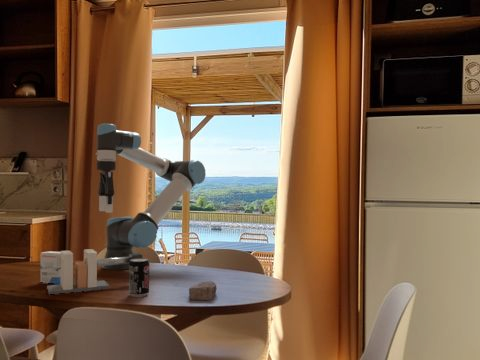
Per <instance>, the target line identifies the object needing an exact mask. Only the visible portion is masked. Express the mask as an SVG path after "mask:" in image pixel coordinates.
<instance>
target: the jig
mask: <svg viewBox="0 0 480 360" xmlns="http://www.w3.org/2000/svg"><path fill="white" fill-rule="evenodd" d="M60 252H61V279H60V284H50V285H46V291H47V290H48V291H47V294H48V296H51V295H50V294H55V295H60V294H59V293H65V294H71V293H70V292H74V293H83V292H82V291H84V292H92V290H93V291H100V290H101V289H103V290H110V284H109V283H108V282H106V281H105V280H104V279H103V280H98V279H97V278H98V277H97V276H98V266H97V259H98V252H97V251H96V250H95V249H93V248H91V249H83V261H84V262H85V263H86V264H87V287H83V288H77V286H76V285H75V282H74V253H73V252H72V251H71V250H60Z"/></svg>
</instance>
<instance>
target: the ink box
mask: <svg viewBox="0 0 480 360" xmlns="http://www.w3.org/2000/svg"><path fill="white" fill-rule="evenodd" d="M39 279H40V282H43V283H42V284H48V283H54V284H53V285H60V279H61V251H51V250H50V251H43V252H40V278H39ZM40 282H39V283H40Z"/></svg>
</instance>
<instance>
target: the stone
mask: <svg viewBox="0 0 480 360" xmlns="http://www.w3.org/2000/svg"><path fill="white" fill-rule="evenodd" d="M216 293H217V284H216V282H214V281H201V282H198V283H196V284H194V285H192V286H191V285H190V287H189V288H188V297H189V298H190V299H191V300H193V301H200V300H201V301H213V300H214V297H215V295H216Z"/></svg>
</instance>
